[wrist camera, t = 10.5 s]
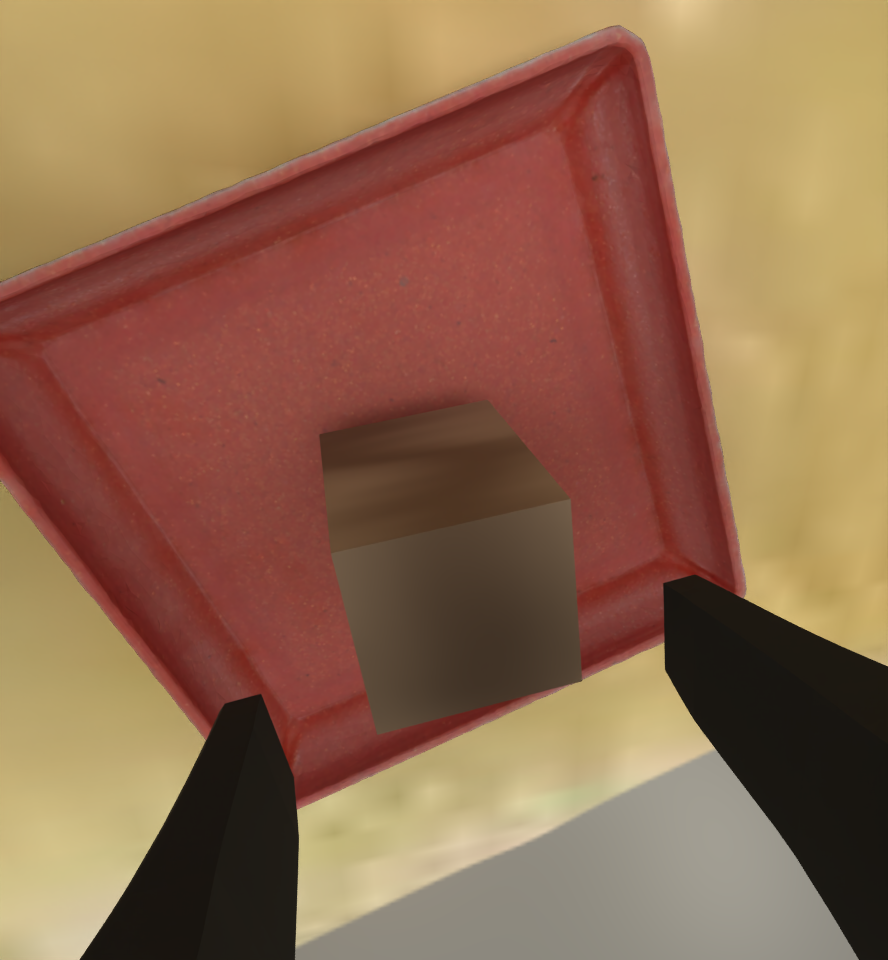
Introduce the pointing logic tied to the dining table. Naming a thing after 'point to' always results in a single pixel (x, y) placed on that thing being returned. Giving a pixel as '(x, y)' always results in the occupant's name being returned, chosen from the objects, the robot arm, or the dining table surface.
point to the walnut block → (450, 563)
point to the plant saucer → (373, 387)
